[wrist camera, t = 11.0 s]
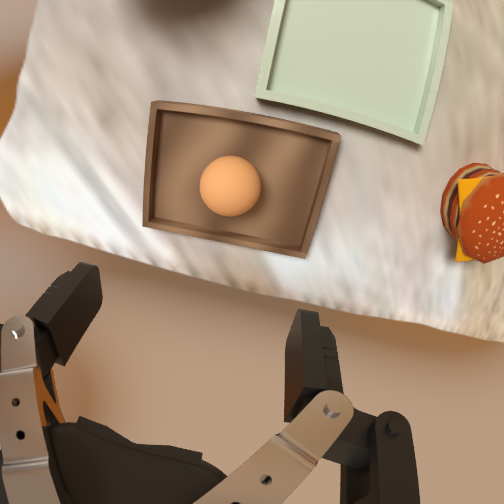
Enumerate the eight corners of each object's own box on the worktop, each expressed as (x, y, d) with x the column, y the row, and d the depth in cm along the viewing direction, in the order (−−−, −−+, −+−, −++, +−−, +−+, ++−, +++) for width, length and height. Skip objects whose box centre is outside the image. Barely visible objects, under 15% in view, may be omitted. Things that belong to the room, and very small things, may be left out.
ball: (267, 156, 26) (265, 171, 22) (256, 208, 28) (252, 232, 24) (211, 145, 26) (196, 158, 21) (203, 197, 28) (189, 219, 24)
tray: (337, 132, 25) (341, 135, 23) (303, 249, 31) (305, 258, 29) (158, 100, 24) (151, 101, 23) (148, 218, 30) (142, 226, 29)
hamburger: (433, 168, 25) (468, 192, 20) (502, 155, 23) (540, 175, 18) (437, 250, 30) (464, 284, 24) (500, 231, 28) (530, 260, 22)
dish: (444, 5, 17) (453, 2, 15) (414, 141, 24) (423, 145, 23) (287, -49, 16) (288, -57, 15) (255, 96, 24) (254, 97, 22)
